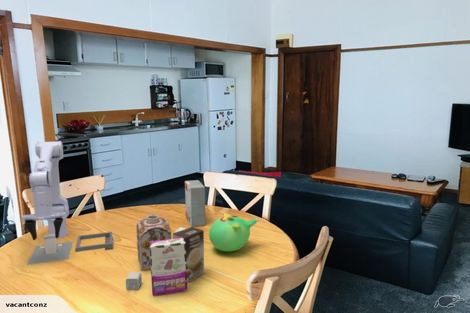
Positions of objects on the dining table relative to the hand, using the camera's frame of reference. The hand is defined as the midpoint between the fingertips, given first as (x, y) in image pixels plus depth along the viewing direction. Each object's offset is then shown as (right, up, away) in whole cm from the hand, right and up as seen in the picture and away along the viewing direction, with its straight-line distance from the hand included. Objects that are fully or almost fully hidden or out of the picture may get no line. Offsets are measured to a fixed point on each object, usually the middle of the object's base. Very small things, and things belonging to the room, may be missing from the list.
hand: (46, 238), depth 130 cm
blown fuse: (-3, -8, +9) cm, 12 cm away
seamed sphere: (+49, -7, +20) cm, 53 cm away
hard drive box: (+51, -3, +47) cm, 69 cm away
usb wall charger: (+37, -13, -17) cm, 43 cm away
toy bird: (+69, -8, +13) cm, 71 cm away
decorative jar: (+40, -10, +2) cm, 41 cm away
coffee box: (+55, -11, -8) cm, 56 cm away
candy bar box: (+49, -13, -18) cm, 54 cm away
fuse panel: (-3, -9, +9) cm, 13 cm away
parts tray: (+11, -7, +18) cm, 22 cm away
